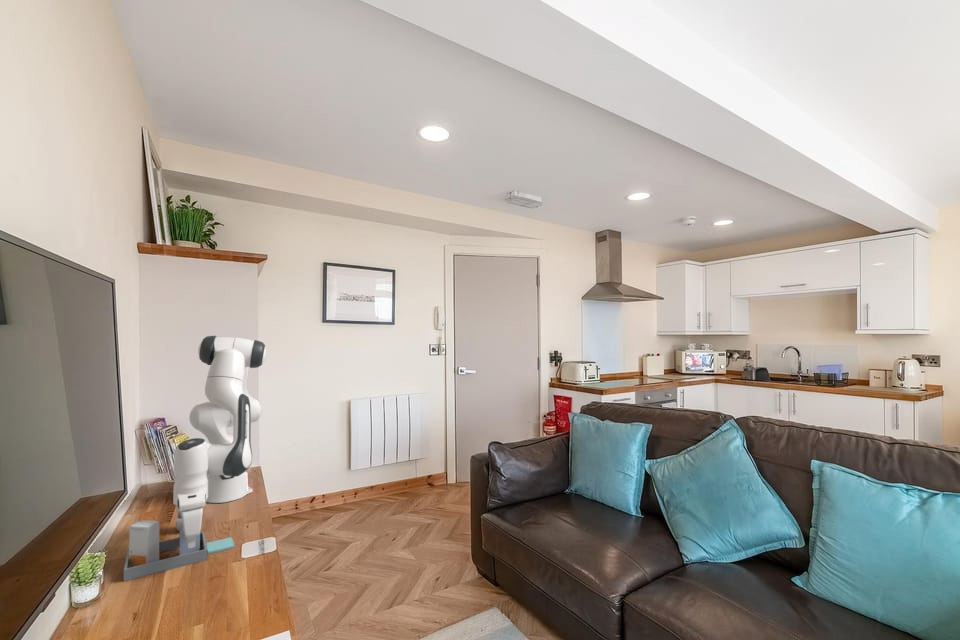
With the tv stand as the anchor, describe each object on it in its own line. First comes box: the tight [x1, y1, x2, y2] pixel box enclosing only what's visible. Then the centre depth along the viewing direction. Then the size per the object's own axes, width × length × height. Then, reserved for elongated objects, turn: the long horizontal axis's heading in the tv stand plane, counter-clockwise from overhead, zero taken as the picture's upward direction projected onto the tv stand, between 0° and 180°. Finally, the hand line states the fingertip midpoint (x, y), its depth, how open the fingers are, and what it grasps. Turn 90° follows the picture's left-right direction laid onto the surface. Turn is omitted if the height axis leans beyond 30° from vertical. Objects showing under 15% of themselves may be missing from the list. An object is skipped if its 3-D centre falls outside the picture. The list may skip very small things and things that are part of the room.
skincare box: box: [128, 519, 161, 568], centre depth 127 cm, size 6×4×12 cm
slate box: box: [179, 526, 201, 555], centre depth 134 cm, size 4×5×8 cm
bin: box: [123, 531, 208, 582], centre depth 131 cm, size 14×19×3 cm
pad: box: [206, 536, 235, 555], centre depth 138 cm, size 7×7×1 cm
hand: (190, 540), depth 134 cm, fingers open, 8 cm apart
